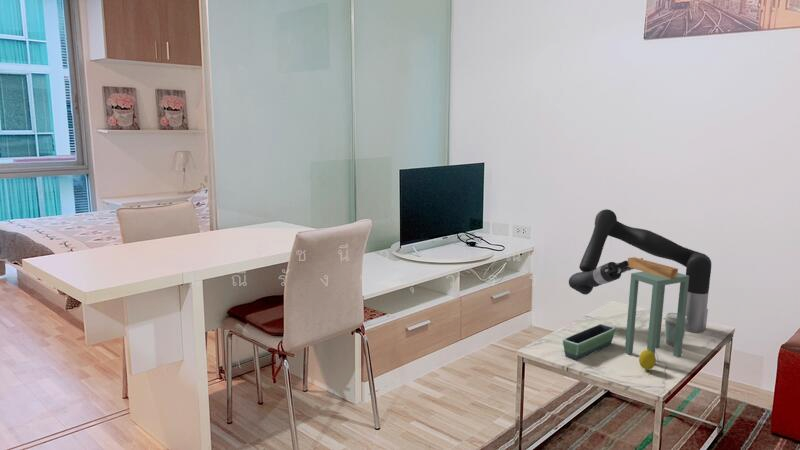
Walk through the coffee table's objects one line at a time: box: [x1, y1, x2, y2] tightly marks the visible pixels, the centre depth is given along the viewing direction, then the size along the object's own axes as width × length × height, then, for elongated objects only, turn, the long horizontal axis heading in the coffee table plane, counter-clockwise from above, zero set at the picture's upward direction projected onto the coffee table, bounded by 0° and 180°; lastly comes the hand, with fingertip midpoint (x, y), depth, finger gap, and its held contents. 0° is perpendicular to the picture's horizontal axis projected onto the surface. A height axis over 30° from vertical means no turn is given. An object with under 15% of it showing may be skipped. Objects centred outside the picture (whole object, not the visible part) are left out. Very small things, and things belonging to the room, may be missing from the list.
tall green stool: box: [624, 271, 689, 358], centre depth 223 cm, size 17×12×32 cm
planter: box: [562, 323, 616, 361], centre depth 229 cm, size 28×7×7 cm, turn 131°
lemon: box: [638, 348, 657, 371], centre depth 211 cm, size 6×6×8 cm
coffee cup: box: [664, 312, 688, 347], centre depth 236 cm, size 8×9×12 cm
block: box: [627, 256, 679, 279], centre depth 223 cm, size 4×20×4 cm, turn 27°
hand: (635, 261), depth 230 cm, fingers open, 8 cm apart
